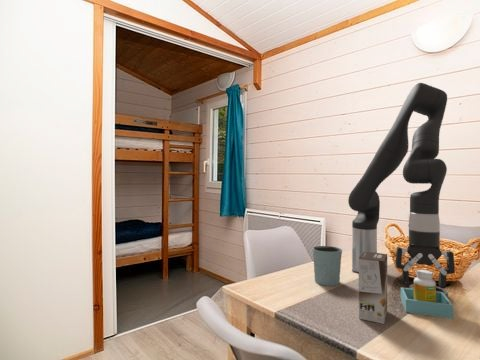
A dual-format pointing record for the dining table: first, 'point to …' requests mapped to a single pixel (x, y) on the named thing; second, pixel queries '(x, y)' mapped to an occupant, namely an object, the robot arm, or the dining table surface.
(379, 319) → the coffee box
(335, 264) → the teal cup
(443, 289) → the holder
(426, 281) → the supplement bottle
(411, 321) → the dining table surface
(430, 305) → the tray
